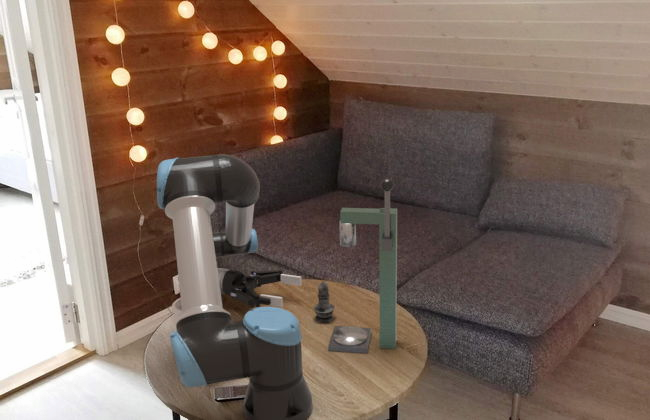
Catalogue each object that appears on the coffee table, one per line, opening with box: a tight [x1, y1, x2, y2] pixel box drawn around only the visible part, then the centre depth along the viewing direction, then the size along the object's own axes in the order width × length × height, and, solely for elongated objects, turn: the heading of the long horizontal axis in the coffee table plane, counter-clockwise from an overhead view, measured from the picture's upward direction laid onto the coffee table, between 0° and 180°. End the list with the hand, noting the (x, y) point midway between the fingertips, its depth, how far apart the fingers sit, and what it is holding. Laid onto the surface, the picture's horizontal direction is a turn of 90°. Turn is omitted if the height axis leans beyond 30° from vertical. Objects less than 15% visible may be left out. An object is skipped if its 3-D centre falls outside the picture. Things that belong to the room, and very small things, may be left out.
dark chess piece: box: [313, 280, 335, 325], centre depth 162 cm, size 6×6×12 cm
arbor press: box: [327, 178, 398, 354], centre depth 144 cm, size 10×17×46 cm, turn 79°
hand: (292, 291), depth 165 cm, fingers open, 13 cm apart
